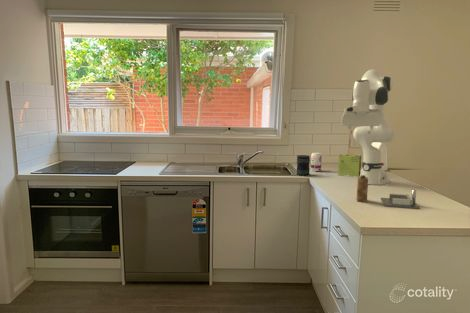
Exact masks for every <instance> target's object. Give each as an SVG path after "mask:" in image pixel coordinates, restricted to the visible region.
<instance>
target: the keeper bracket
mask: <svg viewBox="0 0 470 313" xmlns="http://www.w3.org/2000/svg"><path fill="white" fill-rule="evenodd" d="M380 200H381V203H382V205H383V206H384V207H387V208H388V207H390V208H400V209H413V210H415V209H417V210H419V209H420V206H419V205H418V204H417V203H416V202H417V201H416V200H417V189H412V190H411V196H410V194H402V193H389V195H388V197H380Z"/></svg>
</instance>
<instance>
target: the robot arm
mask: <svg viewBox="0 0 470 313" xmlns="http://www.w3.org/2000/svg"><path fill="white" fill-rule="evenodd" d="M392 87H393V80H392V78H391V77H390V76H381V73H380V72H379V71H378V70H377V69H374V68H373V69H372V68H371V69H369V70H367V71H366V72H365V73H364V74H363V75H362V76H361V79H359V80H355V82H354V84H353V90H352V99H351V100H352V106H349V107H345V108H344V109H343V114H342V116H341V120H340V125H341V126H342V127H347V130H348V131H349V135H352V136H353V139H354V140H355V141H356V142H357V143H358V144H359V145H360V147H361V149H362V156H363V158H362V161H361V173H360V176H359V177H361V175H365V177H367V178H368V185H378V186H379V185H380V186H384V185H386V184H388V183H390V182H391V181H392V180H391V179H390V178H389V179H388V173H387V172H386V170H385V171H384V170H383V169H382V166H384V163H380V162H381V151H380V150H379V149H377V148H376V147H373V146H372V143H373V142H380V143H384V144H385V143H389V142H392V141H393V140H394V138H395V130H394V129H393V127H391V126H390V125H389V124H388V123H387V122H386V120H385V118H384V117H385V116H384V109H385V108H384V106H385V105H386V103H388V101H389V99H390V91H391V90H392ZM351 127H355V128H354V130H351Z"/></svg>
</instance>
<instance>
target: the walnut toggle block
mask: <svg viewBox="0 0 470 313" xmlns="http://www.w3.org/2000/svg"><path fill="white" fill-rule="evenodd" d="M368 188H369V184H368V178H367V177H365V175H361V177H360V176H359V177H357V184H356V201H357V202H360V203H367V202H368V191H369V190H368Z"/></svg>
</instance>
